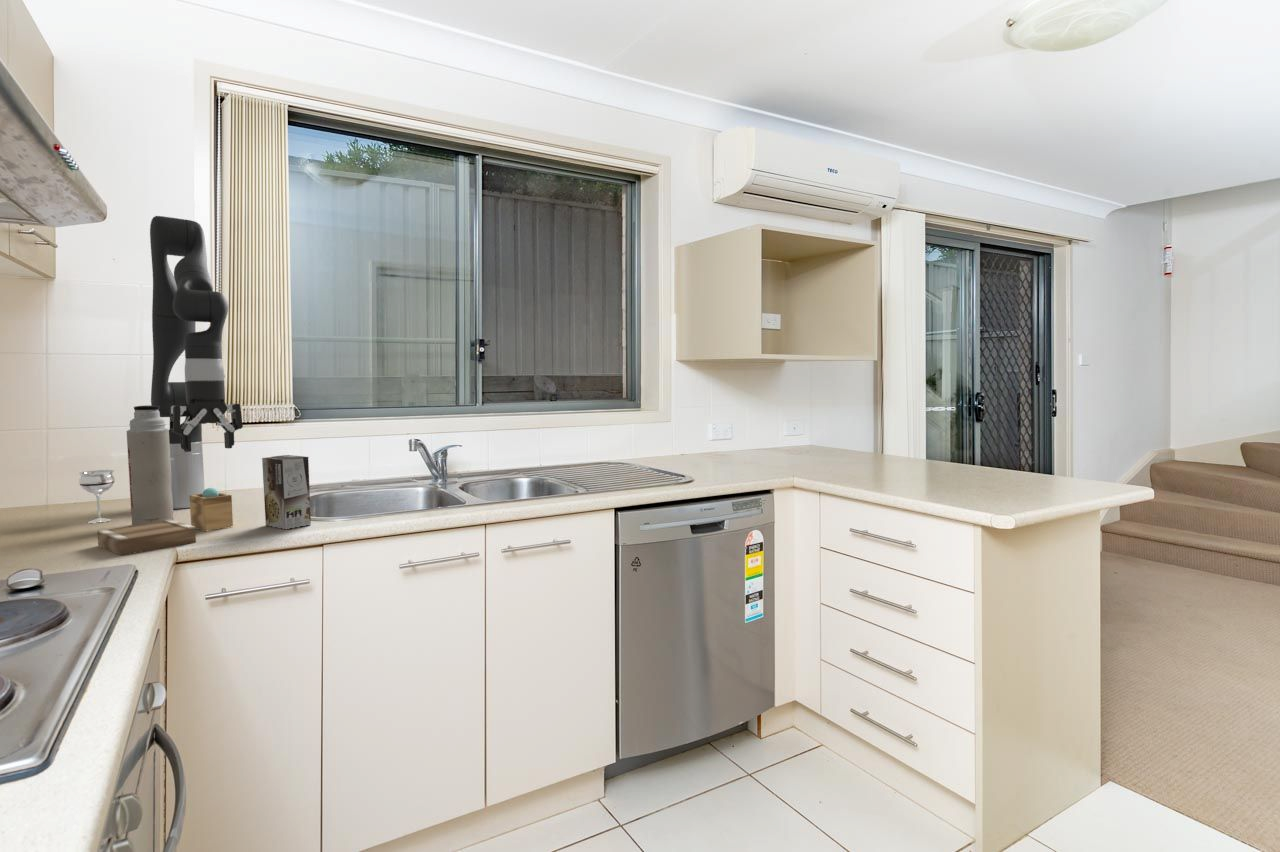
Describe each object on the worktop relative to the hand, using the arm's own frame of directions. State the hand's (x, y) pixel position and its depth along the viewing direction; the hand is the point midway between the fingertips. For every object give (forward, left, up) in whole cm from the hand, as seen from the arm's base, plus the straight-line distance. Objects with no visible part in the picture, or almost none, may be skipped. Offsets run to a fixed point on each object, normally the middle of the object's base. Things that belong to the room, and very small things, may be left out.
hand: (208, 449), depth 155 cm
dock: (+7, -15, -18) cm, 24 cm away
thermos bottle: (-14, -7, -18) cm, 24 cm away
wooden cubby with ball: (0, 0, -18) cm, 18 cm away
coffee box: (+13, +11, -18) cm, 25 cm away
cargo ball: (0, 0, -12) cm, 12 cm away
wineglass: (-29, -13, -18) cm, 37 cm away
